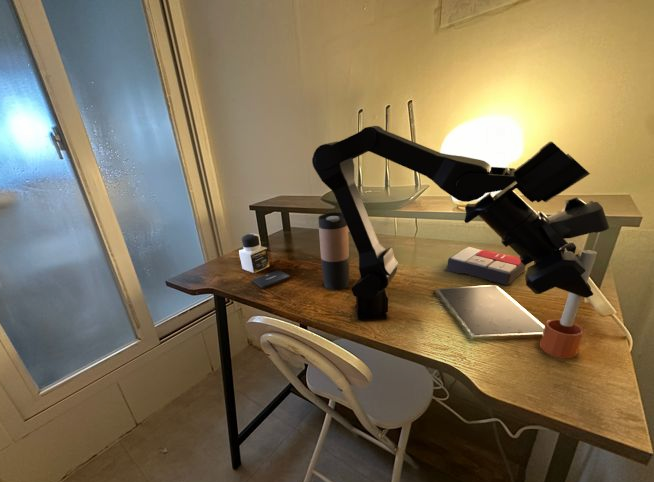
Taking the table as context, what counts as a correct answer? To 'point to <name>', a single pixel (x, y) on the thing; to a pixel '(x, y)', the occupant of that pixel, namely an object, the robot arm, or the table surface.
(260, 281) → the solid state drive
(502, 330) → the tablet
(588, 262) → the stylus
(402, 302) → the table surface
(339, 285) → the travel mug
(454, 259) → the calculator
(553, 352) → the pen pot
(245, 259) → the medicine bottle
